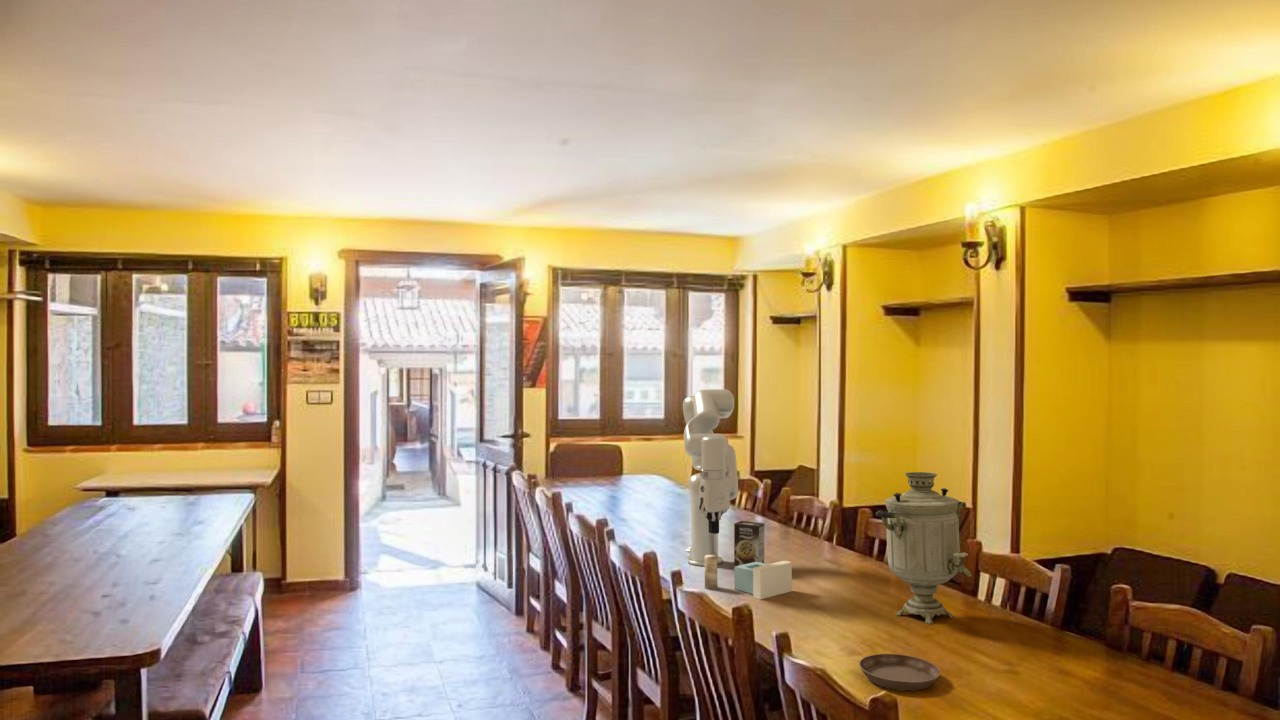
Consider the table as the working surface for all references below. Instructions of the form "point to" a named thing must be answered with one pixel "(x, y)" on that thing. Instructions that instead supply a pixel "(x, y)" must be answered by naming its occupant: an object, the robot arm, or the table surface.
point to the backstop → (772, 579)
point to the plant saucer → (899, 671)
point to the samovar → (923, 542)
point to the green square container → (745, 576)
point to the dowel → (710, 572)
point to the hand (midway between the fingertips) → (713, 532)
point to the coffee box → (748, 542)
